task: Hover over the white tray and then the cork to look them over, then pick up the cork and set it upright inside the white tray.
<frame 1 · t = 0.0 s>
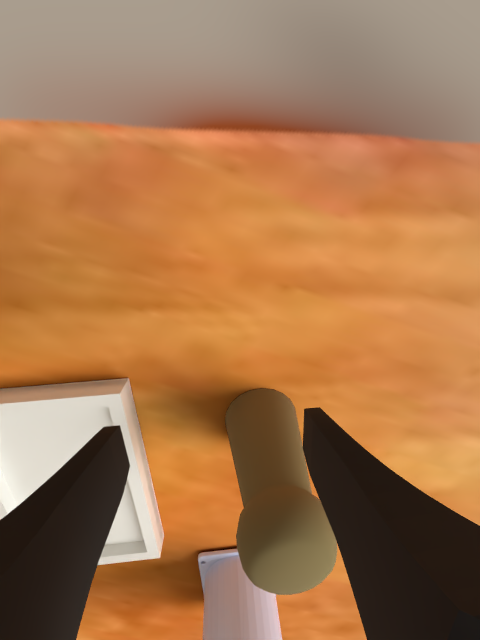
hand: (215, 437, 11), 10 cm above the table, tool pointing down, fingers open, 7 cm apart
white tray: (78, 473, 24), on the table
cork: (260, 417, 23), on the table
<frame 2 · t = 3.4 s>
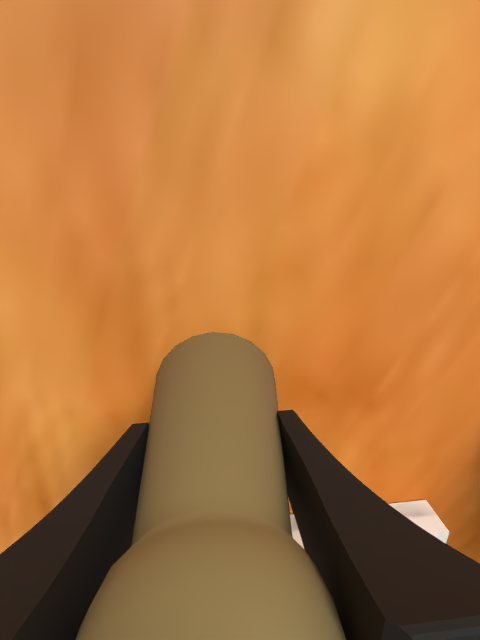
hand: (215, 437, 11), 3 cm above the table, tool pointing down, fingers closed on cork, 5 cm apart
white tray: (289, 571, 20), on the table
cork: (216, 385, 14), on the table, touching gripper
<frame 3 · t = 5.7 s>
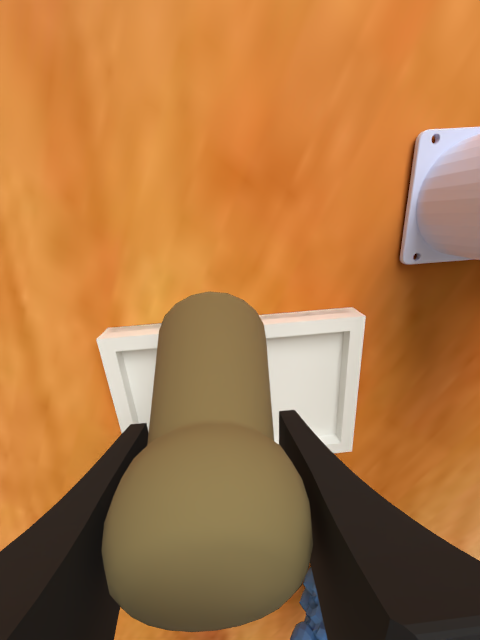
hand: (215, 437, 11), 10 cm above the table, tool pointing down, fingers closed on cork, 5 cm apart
white tray: (238, 386, 22), on the table
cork: (213, 340, 16), point 5 cm above the table, touching gripper
grapes: (304, 565, 32), on the table
when the fingers open (6 cm above the table, at t = 8.1 s): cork stays where it is, resting on white tray.
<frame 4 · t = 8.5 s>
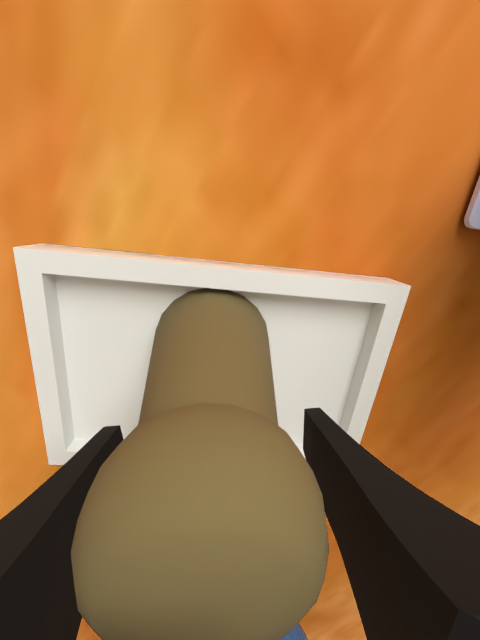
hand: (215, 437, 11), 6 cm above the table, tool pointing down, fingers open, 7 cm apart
white tray: (216, 363, 16), on the table
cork: (212, 340, 15), point 1 cm above the table, touching white tray
grapes: (259, 603, 26), on the table
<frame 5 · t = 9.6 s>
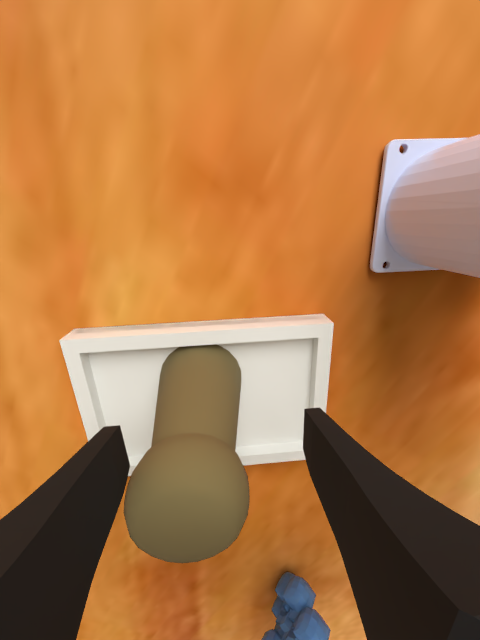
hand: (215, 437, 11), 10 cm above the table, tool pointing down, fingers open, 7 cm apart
white tray: (208, 390, 22), on the table
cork: (201, 376, 21), point 1 cm above the table, touching white tray
grapes: (277, 572, 31), on the table
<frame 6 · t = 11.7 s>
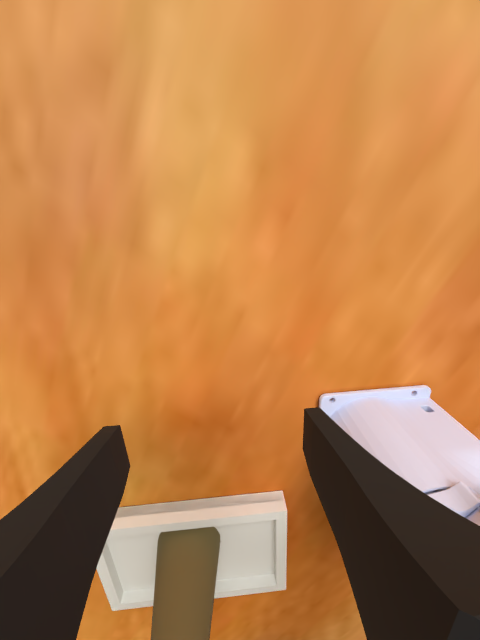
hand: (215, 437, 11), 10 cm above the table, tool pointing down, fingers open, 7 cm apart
white tray: (195, 541, 28), on the table
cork: (189, 538, 27), point 1 cm above the table, touching white tray
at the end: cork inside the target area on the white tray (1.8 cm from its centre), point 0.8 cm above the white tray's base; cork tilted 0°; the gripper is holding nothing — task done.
